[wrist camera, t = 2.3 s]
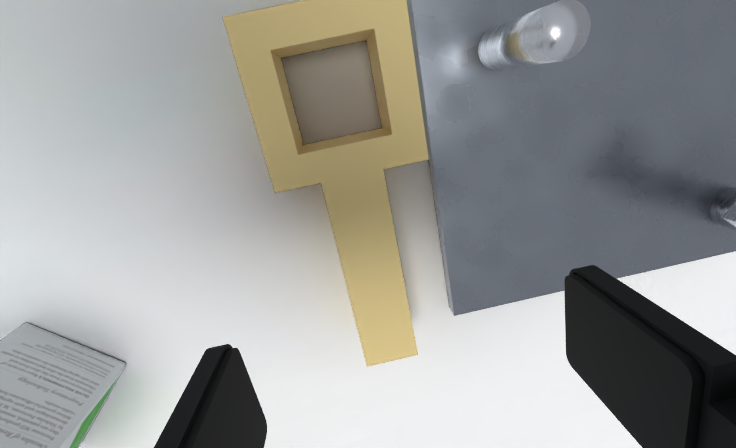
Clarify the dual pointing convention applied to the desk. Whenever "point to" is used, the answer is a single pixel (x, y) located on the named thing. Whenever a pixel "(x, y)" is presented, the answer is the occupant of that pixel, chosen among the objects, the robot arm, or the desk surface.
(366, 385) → the desk surface
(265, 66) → the link
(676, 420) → the robot arm
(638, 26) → the pintle plate
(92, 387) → the skincare box
